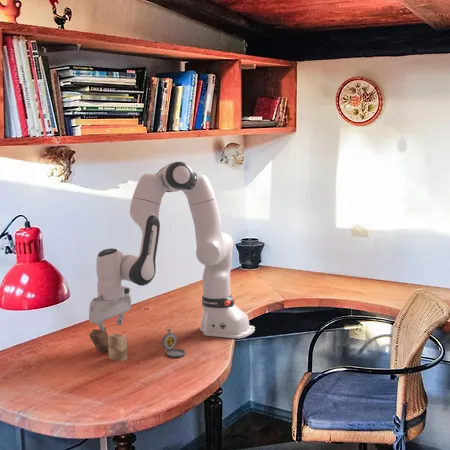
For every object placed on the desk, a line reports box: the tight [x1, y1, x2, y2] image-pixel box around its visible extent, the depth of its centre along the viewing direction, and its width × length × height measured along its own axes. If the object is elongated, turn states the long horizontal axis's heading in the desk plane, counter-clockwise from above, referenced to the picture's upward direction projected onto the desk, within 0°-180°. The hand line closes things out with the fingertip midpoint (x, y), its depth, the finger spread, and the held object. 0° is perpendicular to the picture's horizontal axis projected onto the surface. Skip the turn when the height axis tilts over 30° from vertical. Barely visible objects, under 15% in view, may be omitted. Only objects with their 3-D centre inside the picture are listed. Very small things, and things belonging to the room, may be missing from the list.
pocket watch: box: [161, 325, 186, 358], centre depth 225 cm, size 8×8×10 cm
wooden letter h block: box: [88, 328, 109, 354], centre depth 228 cm, size 6×3×8 cm
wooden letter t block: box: [108, 333, 128, 362], centre depth 222 cm, size 6×3×8 cm, turn 60°
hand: (111, 328), depth 233 cm, fingers open, 8 cm apart
